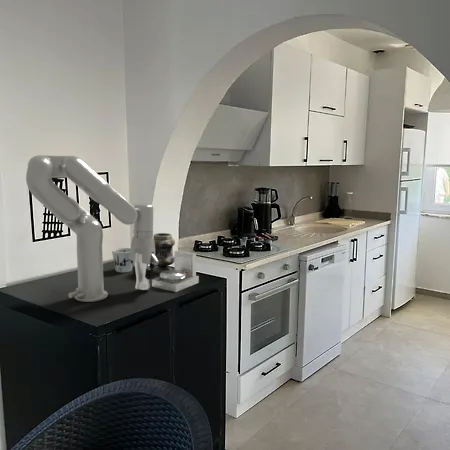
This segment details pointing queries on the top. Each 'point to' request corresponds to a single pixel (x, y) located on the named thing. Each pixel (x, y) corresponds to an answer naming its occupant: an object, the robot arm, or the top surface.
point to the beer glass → (141, 273)
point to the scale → (182, 262)
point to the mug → (122, 259)
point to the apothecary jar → (163, 251)
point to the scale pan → (172, 274)
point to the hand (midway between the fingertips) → (142, 276)
